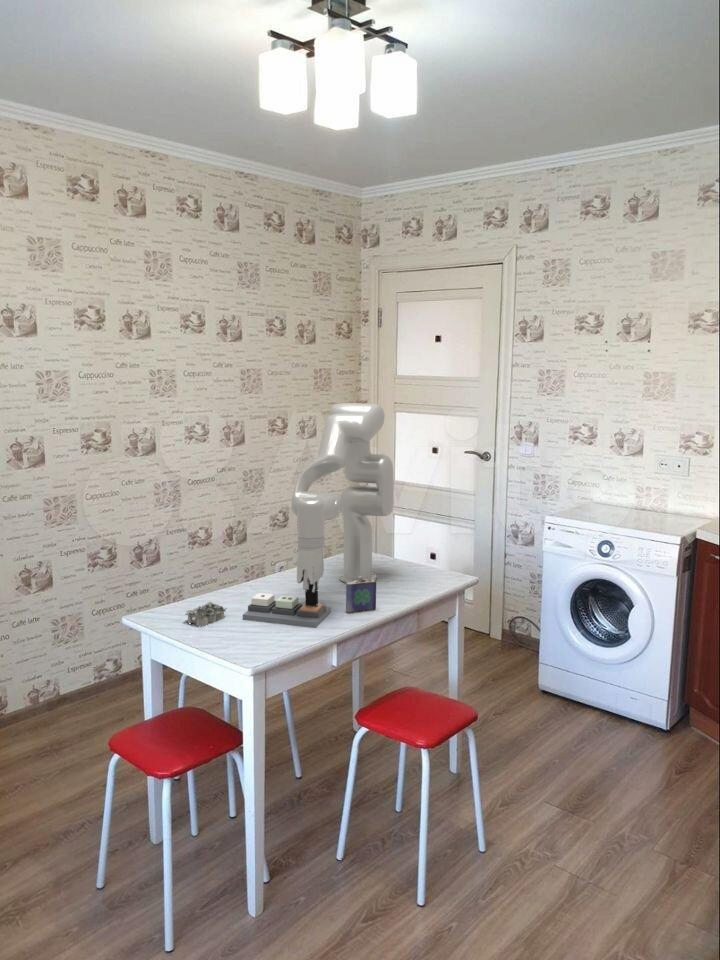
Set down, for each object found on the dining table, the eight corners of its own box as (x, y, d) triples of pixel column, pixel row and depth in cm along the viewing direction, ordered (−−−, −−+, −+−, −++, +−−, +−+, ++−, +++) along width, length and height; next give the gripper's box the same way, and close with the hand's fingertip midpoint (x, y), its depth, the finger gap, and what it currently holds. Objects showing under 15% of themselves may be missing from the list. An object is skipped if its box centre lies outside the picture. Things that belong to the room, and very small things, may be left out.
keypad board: (261, 605, 227) (261, 595, 227) (330, 612, 221) (330, 602, 220) (242, 619, 215) (242, 609, 214) (315, 627, 209) (315, 617, 208)
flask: (347, 614, 220) (347, 578, 218) (344, 610, 222) (344, 575, 221) (377, 610, 223) (377, 575, 221) (373, 607, 225) (374, 572, 224)
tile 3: (306, 608, 219) (306, 601, 218) (322, 610, 217) (322, 603, 217) (300, 614, 214) (300, 607, 214) (317, 616, 212) (316, 608, 212)
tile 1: (258, 599, 223) (258, 592, 222) (274, 600, 221) (274, 593, 221) (251, 604, 218) (251, 597, 218) (267, 606, 216) (267, 599, 216)
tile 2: (282, 601, 220) (282, 594, 220) (298, 603, 219) (298, 596, 219) (275, 607, 216) (275, 599, 215) (292, 608, 214) (291, 601, 214)
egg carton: (201, 629, 209) (200, 615, 208) (182, 623, 213) (182, 609, 212) (229, 618, 217) (228, 604, 216) (211, 612, 221) (210, 599, 221)
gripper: (307, 534, 220) (308, 595, 223) (288, 547, 206) (289, 611, 209) (332, 536, 218) (332, 597, 221) (314, 549, 204) (315, 614, 207)
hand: (311, 604), depth 215 cm, fingers closed
